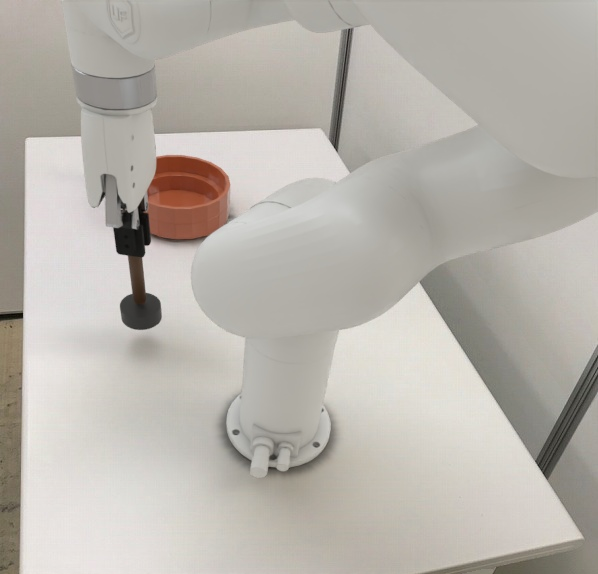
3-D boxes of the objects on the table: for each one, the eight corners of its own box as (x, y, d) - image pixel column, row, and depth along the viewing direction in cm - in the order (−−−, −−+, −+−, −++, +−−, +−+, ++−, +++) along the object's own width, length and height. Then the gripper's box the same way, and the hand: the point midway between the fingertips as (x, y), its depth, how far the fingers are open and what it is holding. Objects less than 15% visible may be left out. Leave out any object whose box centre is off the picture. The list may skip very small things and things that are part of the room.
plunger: (156, 332, 80) (145, 221, 68) (116, 326, 80) (99, 214, 68) (166, 307, 83) (157, 197, 71) (128, 302, 83) (113, 190, 71)
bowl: (218, 249, 100) (219, 215, 96) (116, 233, 100) (112, 198, 96) (236, 196, 111) (237, 163, 107) (144, 181, 111) (141, 148, 107)
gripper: (102, 48, 66) (122, 208, 79) (45, 112, 55) (78, 285, 69) (174, 58, 66) (182, 217, 79) (131, 124, 55) (148, 295, 68)
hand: (134, 247), depth 74 cm, fingers closed on plunger
